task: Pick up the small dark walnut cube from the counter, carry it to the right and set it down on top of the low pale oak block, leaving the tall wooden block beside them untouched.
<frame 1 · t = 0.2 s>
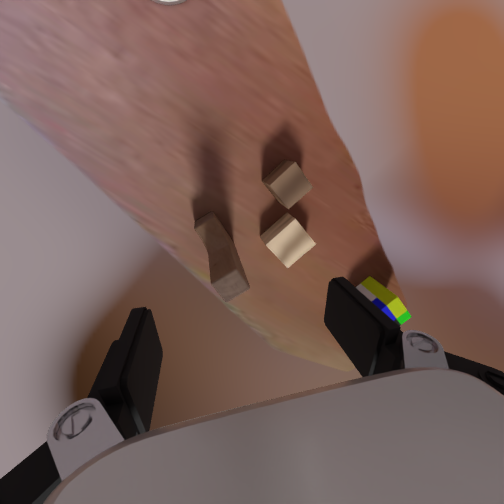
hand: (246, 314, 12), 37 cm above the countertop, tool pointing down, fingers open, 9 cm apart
wooden block: (215, 232, 48), on the countertop
oak block: (283, 236, 52), on the countertop
puzzle toy: (362, 296, 66), on the countertop
walnut cube: (281, 181, 46), on the countertop
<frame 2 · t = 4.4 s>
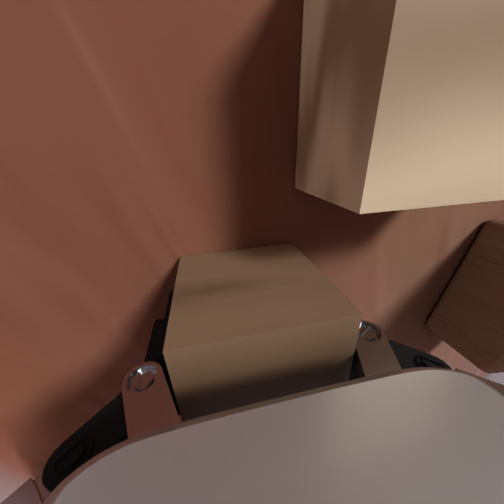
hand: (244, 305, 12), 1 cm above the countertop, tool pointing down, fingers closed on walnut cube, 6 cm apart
wooden block: (468, 277, 17), on the countertop
oak block: (382, 91, 10), on the countertop
walnut cube: (241, 296, 13), on the countertop, touching gripper
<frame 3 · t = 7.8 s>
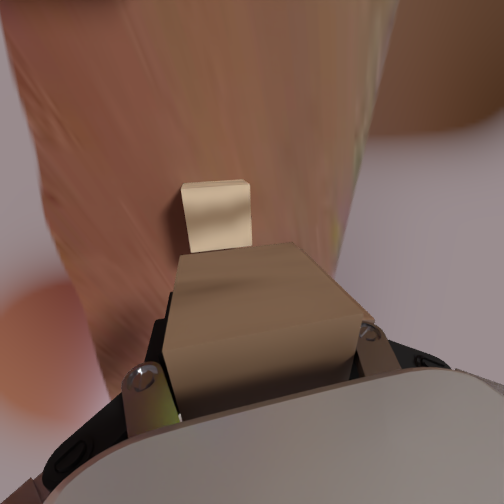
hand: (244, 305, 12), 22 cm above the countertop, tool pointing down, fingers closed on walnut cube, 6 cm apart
wooden block: (283, 270, 39), on the countertop
oak block: (216, 210, 32), on the countertop
walnut cube: (241, 295, 13), point 21 cm above the countertop, touching gripper
when the fingers open (7 cm above the countertop, at t = 11.3 s): walnut cube stays where it is, resting on oak block.
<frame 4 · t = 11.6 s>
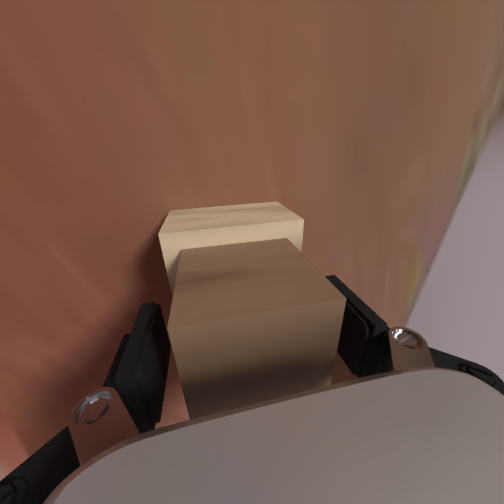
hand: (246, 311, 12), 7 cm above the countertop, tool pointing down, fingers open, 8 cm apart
wooden block: (329, 334, 25), on the countertop
oak block: (229, 254, 18), on the countertop
walnut cube: (239, 287, 14), point 5 cm above the countertop, touching oak block
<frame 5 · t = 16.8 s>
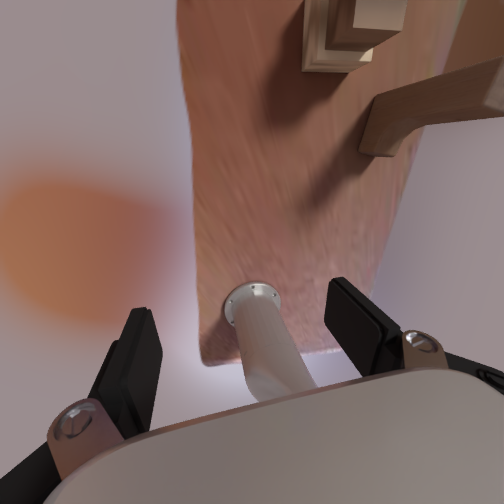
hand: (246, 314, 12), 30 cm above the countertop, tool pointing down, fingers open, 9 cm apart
wooden block: (375, 127, 40), on the countertop
oak block: (328, 38, 33), on the countertop
walnut cube: (349, 20, 28), point 5 cm above the countertop, touching oak block
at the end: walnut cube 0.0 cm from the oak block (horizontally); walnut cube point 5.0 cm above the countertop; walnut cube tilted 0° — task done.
